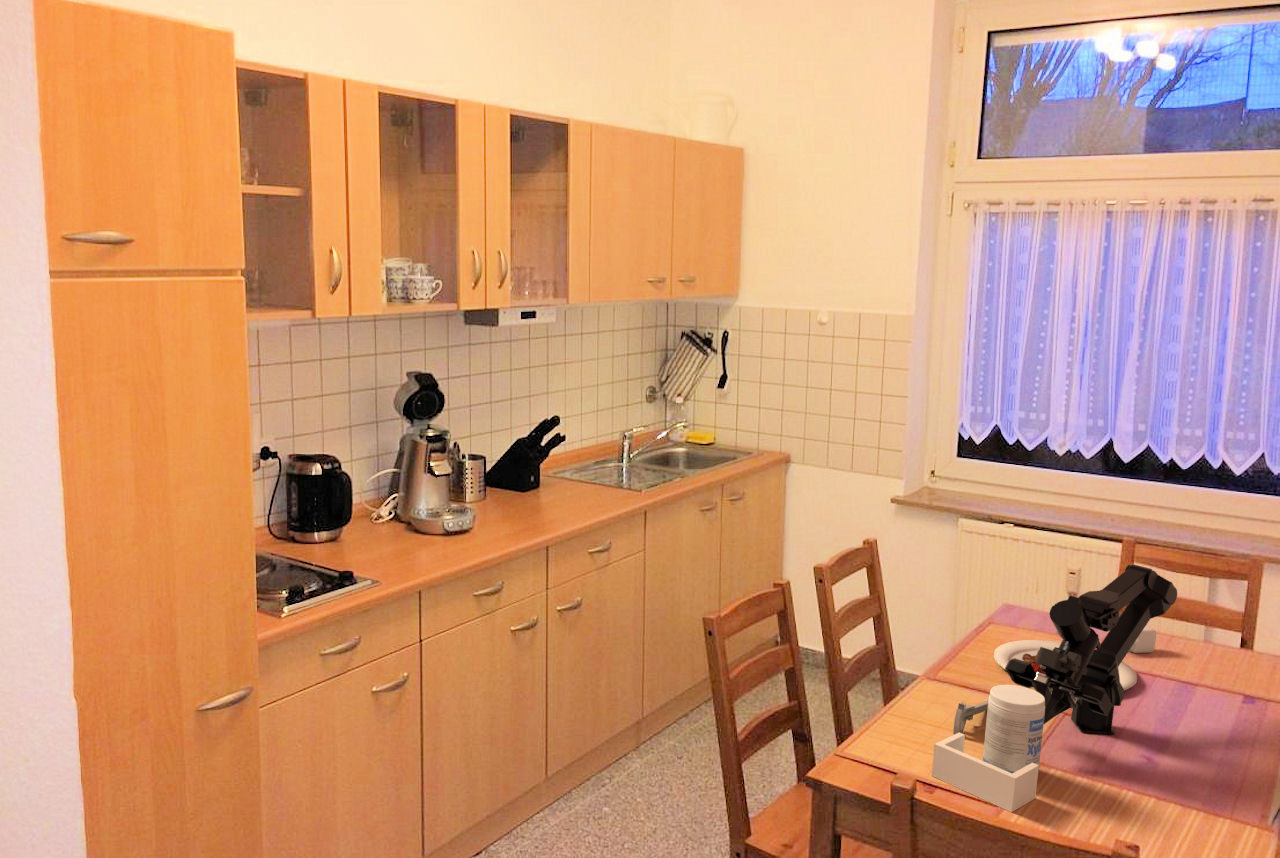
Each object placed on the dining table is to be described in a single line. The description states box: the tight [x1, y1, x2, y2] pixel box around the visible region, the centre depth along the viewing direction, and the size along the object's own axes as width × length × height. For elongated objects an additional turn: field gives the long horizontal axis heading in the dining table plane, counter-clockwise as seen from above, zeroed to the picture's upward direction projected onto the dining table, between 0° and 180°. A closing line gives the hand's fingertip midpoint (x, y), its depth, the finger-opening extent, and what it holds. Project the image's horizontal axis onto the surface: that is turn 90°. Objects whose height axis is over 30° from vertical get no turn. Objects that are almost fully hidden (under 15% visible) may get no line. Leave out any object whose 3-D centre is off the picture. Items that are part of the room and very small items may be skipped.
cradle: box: [931, 732, 1040, 813], centre depth 184 cm, size 8×15×6 cm, turn 41°
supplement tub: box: [982, 684, 1045, 773], centre depth 189 cm, size 10×10×15 cm
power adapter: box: [1128, 625, 1157, 654], centre depth 252 cm, size 11×5×6 cm, turn 103°
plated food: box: [993, 639, 1138, 691], centre depth 238 cm, size 30×30×3 cm
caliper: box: [952, 700, 988, 735], centre depth 211 cm, size 21×1×6 cm, turn 141°
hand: (1037, 724), depth 194 cm, fingers closed
